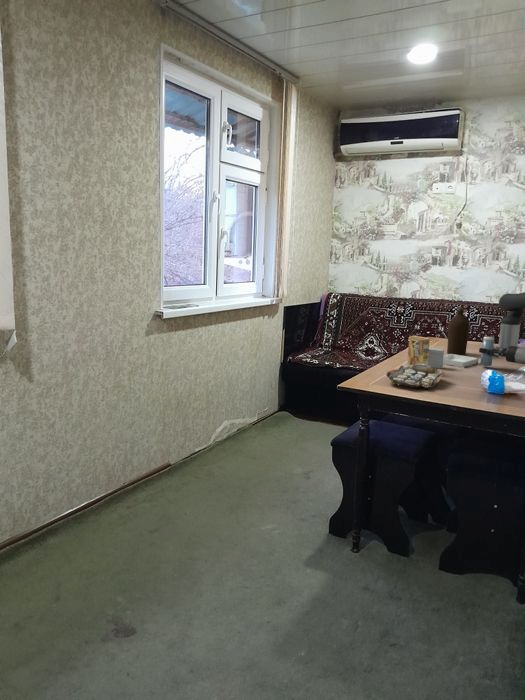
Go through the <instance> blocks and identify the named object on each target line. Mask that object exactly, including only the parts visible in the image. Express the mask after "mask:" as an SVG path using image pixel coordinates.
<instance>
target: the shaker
mask: <svg viewBox="0 0 525 700" xmlns="http://www.w3.org/2000/svg"><path fill="white" fill-rule="evenodd" d="M494 347H495V337H493V336H483V339H482V346H481V348H485V349H494ZM490 353H491V352H490ZM493 357H494V356H489V355H487V354H485V353H481V356H480V365H481V366H485V367H491V366H492V365H493V359H494V358H493Z"/></svg>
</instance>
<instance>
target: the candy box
mask: <svg viewBox="0 0 525 700" xmlns="http://www.w3.org/2000/svg"><path fill="white" fill-rule="evenodd" d="M408 338H409V339H408V348H407V349H408V352H407V362H406V363H407V364H406V366H408V365H410V364H419V363H420V364H426V365H428V355H429V348H430V343H431V342H430V341H431V339H430V338H429V337H424V336H418V335H410V336H408Z"/></svg>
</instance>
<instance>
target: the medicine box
mask: <svg viewBox="0 0 525 700" xmlns="http://www.w3.org/2000/svg"><path fill="white" fill-rule="evenodd" d="M444 354H445V349H443V348H434V347H429V355H428V365H431V366H433V367H435V368H436V369H443V365H444V364H443V357H444V356H445V355H444Z"/></svg>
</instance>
